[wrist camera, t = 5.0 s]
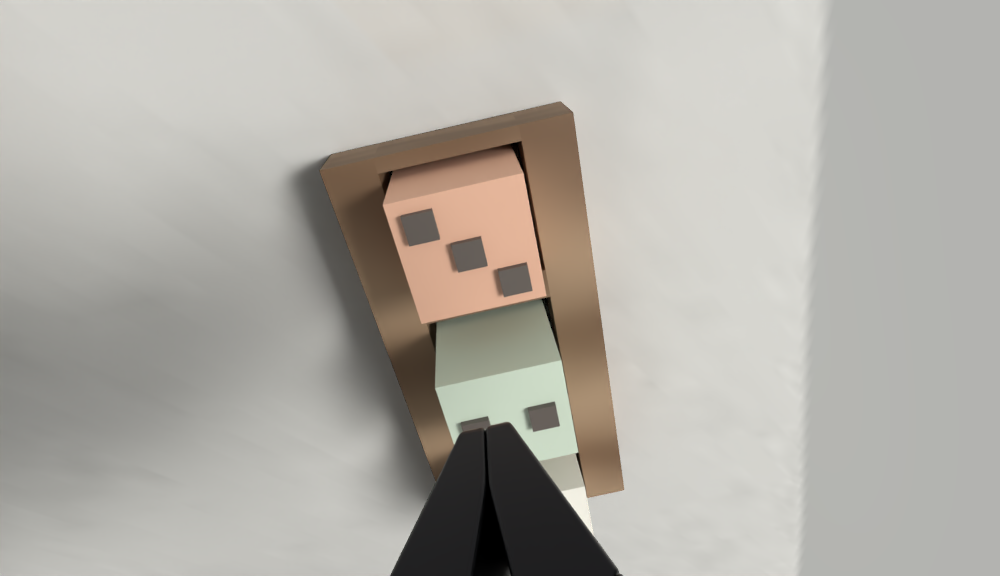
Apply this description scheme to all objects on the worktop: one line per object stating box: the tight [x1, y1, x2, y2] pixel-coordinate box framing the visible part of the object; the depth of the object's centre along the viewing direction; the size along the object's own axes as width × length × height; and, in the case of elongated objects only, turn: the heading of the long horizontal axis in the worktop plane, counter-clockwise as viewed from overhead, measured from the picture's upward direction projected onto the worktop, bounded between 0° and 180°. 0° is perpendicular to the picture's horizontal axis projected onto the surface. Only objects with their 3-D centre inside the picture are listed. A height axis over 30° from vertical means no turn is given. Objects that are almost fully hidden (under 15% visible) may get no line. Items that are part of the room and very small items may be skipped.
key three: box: [383, 144, 546, 324], centre depth 18 cm, size 4×4×4 cm
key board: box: [319, 102, 624, 498], centre depth 22 cm, size 17×8×2 cm, turn 12°
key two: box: [435, 299, 578, 461], centre depth 19 cm, size 4×4×4 cm
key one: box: [539, 453, 594, 536], centre depth 22 cm, size 4×4×4 cm
